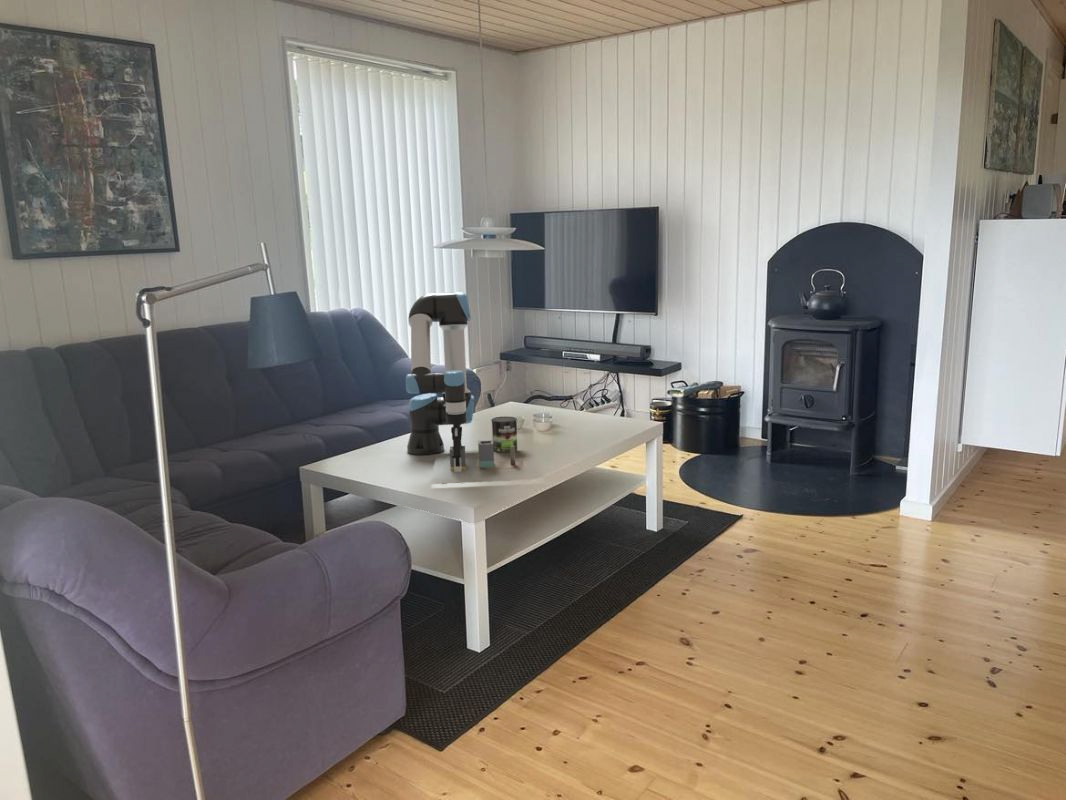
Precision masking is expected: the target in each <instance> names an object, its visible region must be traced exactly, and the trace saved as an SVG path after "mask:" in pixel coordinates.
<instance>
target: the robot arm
mask: <svg viewBox="0 0 1066 800" xmlns="http://www.w3.org/2000/svg"><path fill="white" fill-rule="evenodd" d="M467 296H468V295H466V293H464V292H456V291H454V292H439V293H438V292H437V293H433V292H431V293H426V294H424V295H422V296H420V297H419V298H418V299H417V300H416V301H415V302H414V303H413V304H412V307H411V308H410V310H409V313H408V325H409V326H410V339H411V340H410V352H411V353H410V354H411V355H410V358H411V359H410V362H411V363H410V372H411V373H407V374H406V375H405V390H406V392H407V393H408V394H410V395H411V394H412V395H413V394H414V395H415V394H416V396H413V397H412V398H410V399H409V402H408V405H409V406H408V412H409V424H410V425H409V426H410V428H409V429H410V435H409V439H408V441H407V446H406V448H407V449H406V451H407V453H409V454H411V455H417V456H422V455H423V456H425V455H427V456H428V455H435V454H439V453H441V452H443V451H444V450H445V444H444V442H443V439H442V436H441V434H440V427H439V426H451V425H452V426H451V429H450V431H451V433H450V434H451V440H452V443H453V450H454V455H453V456H452V458H454V470H453V472H454V473H455V472H462V470H463V469H462V466H461V452H460V446H463V444H462V436H463V434H462V433H463V427H462V425H467V424H471V423H472V421H473V418H474V407H475V396H474V395H472V394H471V393H472V392H471V390H470V389H469V388H468V387H467V386H468V385H467V366H466V345H465V344H466V343H465V342H466V341H465V339H466V338H465V329H466V328H467V326H468V323H469V322H470V321H471V319H472V317H471V310H470V304H469V300H468V297H467ZM433 323H438V326H439V328H441V329H442V331H443V353H444V355H443V356H444V372H436V373H435V372H432V366H431V365H432V363H431V361H432V358H431V353H432V351H431V327H432V326H433ZM441 393H442V394H441ZM438 394H441V395H442V396H438Z"/></svg>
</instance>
